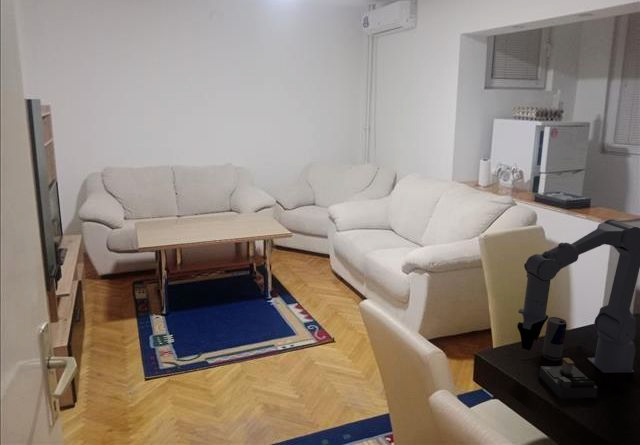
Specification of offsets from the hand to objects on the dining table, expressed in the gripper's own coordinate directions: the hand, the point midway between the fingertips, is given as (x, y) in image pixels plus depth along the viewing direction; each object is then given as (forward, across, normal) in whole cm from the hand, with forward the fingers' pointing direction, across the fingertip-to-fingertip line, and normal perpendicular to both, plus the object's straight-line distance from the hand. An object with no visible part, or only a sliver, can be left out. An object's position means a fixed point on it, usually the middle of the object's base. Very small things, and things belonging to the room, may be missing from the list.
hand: (530, 343), depth 141 cm
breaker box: (+10, -1, +11) cm, 14 cm away
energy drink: (+10, -16, +4) cm, 19 cm away
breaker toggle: (+6, -2, +10) cm, 12 cm away
